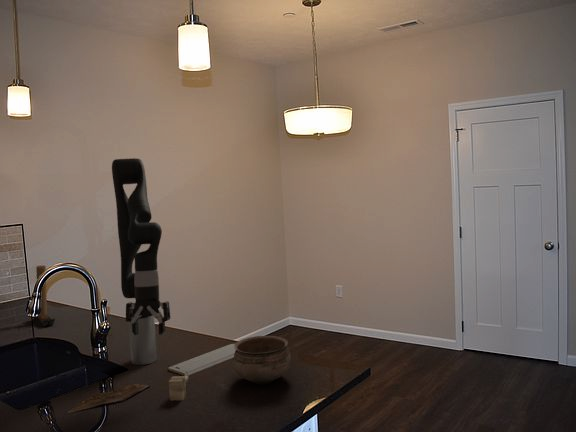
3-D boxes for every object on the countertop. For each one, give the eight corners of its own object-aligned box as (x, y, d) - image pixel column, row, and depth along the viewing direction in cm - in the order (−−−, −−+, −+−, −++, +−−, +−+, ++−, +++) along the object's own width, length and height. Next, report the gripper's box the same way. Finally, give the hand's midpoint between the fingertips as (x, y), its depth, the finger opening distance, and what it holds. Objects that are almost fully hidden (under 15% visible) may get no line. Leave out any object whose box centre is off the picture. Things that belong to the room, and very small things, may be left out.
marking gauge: (180, 384, 171) (179, 366, 170) (192, 384, 171) (191, 366, 170) (170, 400, 159) (168, 381, 158) (182, 400, 159) (181, 381, 158)
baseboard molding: (253, 353, 200) (232, 347, 208) (253, 345, 200) (231, 340, 208) (189, 379, 176) (168, 372, 184) (189, 371, 176) (167, 363, 184)
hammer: (55, 330, 250) (53, 271, 244) (44, 332, 247) (42, 273, 241) (41, 316, 265) (40, 260, 258) (31, 318, 261) (29, 261, 255)
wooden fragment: (142, 382, 175) (142, 379, 175) (156, 392, 166) (155, 389, 166) (61, 407, 159) (61, 403, 159) (72, 419, 150) (71, 415, 150)
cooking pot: (309, 383, 167) (307, 346, 166) (260, 401, 155) (258, 361, 154) (264, 363, 187) (263, 329, 186) (218, 377, 175) (216, 342, 174)
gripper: (172, 282, 171) (173, 331, 171) (131, 283, 173) (133, 332, 173) (163, 285, 164) (165, 337, 164) (120, 286, 166) (122, 337, 166)
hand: (148, 334), depth 168 cm, fingers open, 8 cm apart
